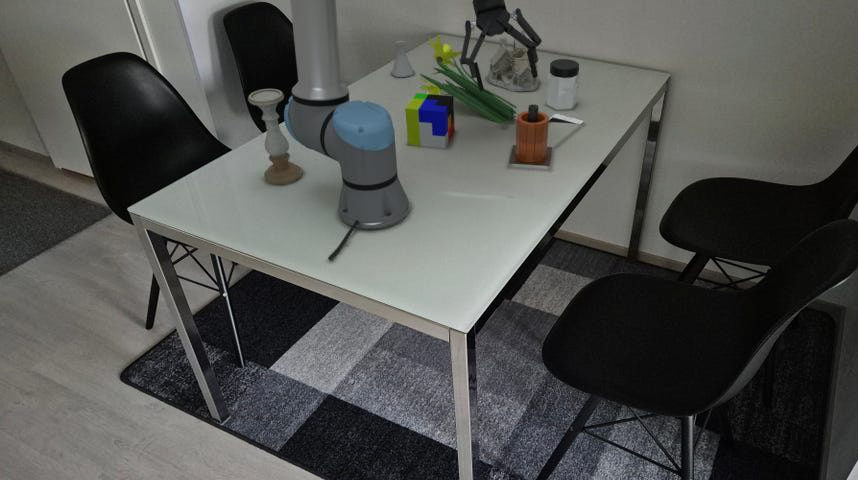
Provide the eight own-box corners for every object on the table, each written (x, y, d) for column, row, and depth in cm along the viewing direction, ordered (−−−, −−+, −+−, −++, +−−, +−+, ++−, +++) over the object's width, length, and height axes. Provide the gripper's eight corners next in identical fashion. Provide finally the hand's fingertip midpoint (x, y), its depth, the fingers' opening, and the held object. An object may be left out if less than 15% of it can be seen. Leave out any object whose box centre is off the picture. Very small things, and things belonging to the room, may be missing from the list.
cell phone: (584, 123, 173) (584, 120, 172) (553, 149, 161) (553, 145, 160) (555, 116, 177) (555, 113, 176) (523, 140, 165) (523, 137, 164)
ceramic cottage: (487, 71, 204) (489, 25, 194) (537, 74, 203) (542, 28, 193) (485, 93, 192) (487, 45, 182) (539, 96, 192) (544, 48, 182)
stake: (549, 170, 153) (553, 116, 144) (508, 167, 154) (510, 113, 145) (551, 151, 160) (555, 99, 152) (512, 148, 162) (514, 96, 153)
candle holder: (263, 170, 153) (243, 90, 140) (299, 164, 155) (283, 85, 143) (266, 188, 146) (246, 105, 134) (304, 181, 149) (288, 99, 136)
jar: (570, 112, 179) (574, 71, 172) (543, 107, 182) (546, 67, 174) (579, 100, 186) (583, 60, 178) (553, 96, 188) (555, 56, 181)
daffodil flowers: (486, 141, 167) (390, 78, 177) (506, 148, 180) (416, 89, 190) (519, 84, 162) (418, 23, 172) (537, 95, 176) (443, 38, 186)
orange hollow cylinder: (545, 163, 153) (547, 125, 147) (514, 161, 154) (515, 123, 148) (547, 149, 159) (549, 111, 153) (517, 147, 160) (518, 110, 154)
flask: (389, 71, 205) (386, 40, 199) (411, 68, 207) (409, 37, 201) (393, 79, 200) (391, 47, 193) (416, 76, 201) (414, 45, 195)
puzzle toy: (445, 148, 162) (444, 111, 156) (408, 144, 164) (405, 108, 157) (454, 131, 170) (453, 96, 163) (418, 128, 171) (416, 93, 165)
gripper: (533, -11, 155) (554, 74, 157) (436, 12, 153) (458, 98, 156) (539, -23, 148) (561, 67, 150) (436, 2, 146) (460, 92, 148)
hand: (508, 83), depth 153 cm, fingers open, 13 cm apart
